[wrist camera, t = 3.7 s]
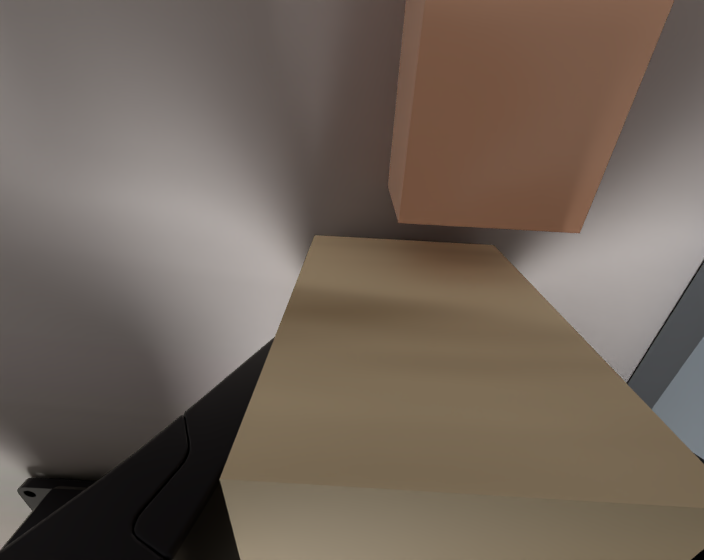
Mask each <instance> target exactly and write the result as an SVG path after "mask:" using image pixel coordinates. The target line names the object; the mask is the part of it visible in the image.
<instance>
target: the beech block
mask: <svg viewBox="0 0 704 560" xmlns="http://www.w3.org/2000/svg"><path fill="white" fill-rule="evenodd" d="M220 482H221V486H222V490H223V494H224V498H225V502H226V506H227V509H228V513H229V517H230V521H231V525H232V529H233V533H234V537H235V540H236V544H237V548H238V552H239V556H240V560H691V559H692V558H693V557H695V556H696V555H697V554H698V553H699V552H701V551H702V550H703V549H704V464H703V463H702V462H701V461H700V460H699V458H698V457H697V456H696V455H695V454H694V453H693V452H692V451H691V450H690V449H689V448H688V447H687V446H686V445H685V444H684V443H683V442H682V441H681V440H680V439H679V438H678V437H677V436H676V434H675V433H674V432H673V431H672V430H671V429H670V428H669V427H668V426H667V425H666V424H665V423H664V422H663V421H662V420H661V419H660V418H659V417H658V416H657V415H656V414H655V413H654V412H653V411H652V409H651V408H650V407H649V406H648V405H647V404H646V403H645V402H644V401H643V400H642V399H641V398H640V397H639V396H638V395H637V394H636V393H635V392H634V391H633V390H632V389H631V388H630V387H629V386H628V384H627V383H626V382H625V381H624V380H623V379H622V378H621V377H620V376H619V375H618V374H617V373H616V372H615V371H614V370H613V369H612V368H611V367H610V366H609V365H608V364H607V363H606V362H605V361H604V359H603V358H602V357H601V356H600V355H599V354H598V353H597V352H596V351H595V350H594V349H593V348H592V347H591V346H590V345H589V344H588V343H587V342H586V341H585V340H584V339H583V338H582V337H581V336H580V334H579V333H578V332H577V331H576V330H575V329H574V328H573V327H572V326H571V325H570V324H569V323H568V322H567V321H566V320H565V319H564V318H563V317H562V316H561V315H560V314H559V313H558V312H557V311H556V309H555V308H554V307H553V306H552V305H551V304H550V303H549V302H548V301H547V300H546V299H545V298H544V297H543V296H542V295H541V294H540V293H539V292H538V291H537V290H536V289H535V288H534V287H533V286H532V284H531V283H530V282H529V281H528V280H527V279H526V278H525V277H524V276H523V275H522V274H521V273H520V272H519V271H518V270H517V269H516V268H515V267H514V266H513V265H512V264H511V263H510V262H509V261H508V259H507V258H506V257H505V256H504V255H503V254H502V253H501V252H500V251H499V250H498V249H497V248H496V247H495V246H494V245H484V244H466V243H448V242H429V241H411V240H393V239H375V238H357V237H339V236H320V235H315V236H314V238H313V241H312V243H311V246H310V248H309V251H308V254H307V256H306V259H305V261H304V264H303V266H302V269H301V271H300V274H299V277H298V279H297V282H296V284H295V287H294V289H293V292H292V295H291V297H290V300H289V302H288V305H287V307H286V310H285V313H284V315H283V318H282V320H281V323H280V325H279V328H278V331H277V333H276V336H275V338H274V341H273V343H272V346H271V348H270V351H269V354H268V356H267V359H266V361H265V364H264V366H263V369H262V372H261V374H260V377H259V379H258V382H257V384H256V387H255V390H254V392H253V395H252V397H251V400H250V402H249V405H248V407H247V410H246V413H245V415H244V418H243V420H242V423H241V425H240V428H239V431H238V433H237V436H236V438H235V441H234V443H233V446H232V449H231V451H230V454H229V456H228V459H227V461H226V464H225V466H224V469H223V472H222V474H221V477H220Z"/></svg>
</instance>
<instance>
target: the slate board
mask: <svg viewBox="0 0 704 560" xmlns="http://www.w3.org/2000/svg"><path fill="white" fill-rule="evenodd" d="M628 386H629V387H630V388H631V389H632V390H633V391H634V392H635V393H636V394H637V395H638V396H639V397H640V398H641V399H642V400H643V401H644V402H645V403H646V404H647V405H648V406H649V407H650V408H651V409H652V411H653V412H654V413H655V414H656V415H657V416H658V417H659V418H660V419H661V420H662V421H663V422H664V423H665V424H666V425H667V426H668V427H669V428H670V429H671V430H672V431H673V432H674V433H675V434H676V436H677V437H678V438H679V439H680V440H681V441H682V442H683V443H684V444H685V445H686V446H687V447H688V448H689V449H690V450H691V451H692V452H693V453H695V454H696V455H698V456H699V457H701V458H702V459H704V263H703V265H702V266H701V268H700V269H699V271H698V273H697V274H696V276H695V277H694V279H693V281H692V282H691V284H690V285H689V287H688V289H687V290H686V292H685V293H684V295H683V297H682V298H681V300H680V301H679V303H678V304H677V306H676V308H675V309H674V311H673V312H672V314H671V316H670V317H669V319H668V320H667V322H666V324H665V325H664V327H663V328H662V330H661V332H660V333H659V335H658V336H657V338H656V339H655V341H654V343H653V344H652V346H651V347H650V349H649V351H648V352H647V354H646V355H645V357H644V359H643V360H642V362H641V363H640V365H639V367H638V368H637V370H636V371H635V373H634V375H633V376H632V378H631V379H630V381H629V382H628Z"/></svg>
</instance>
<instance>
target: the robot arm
mask: <svg viewBox="0 0 704 560" xmlns="http://www.w3.org/2000/svg"><path fill="white" fill-rule="evenodd" d="M274 338H275V337H274ZM274 338H273V339H272V340H270V341H269V342H268V343H267V344H266V345H265V346H263V347H262V348H261V349H260V350H259V351H257V352H256V353H255V354H254V355H253V356H251V357H250V358H249V359H248V360H247V361H245V362H244V363H243V364H242V365H241V366H240V367H238V368H237V369H236V370H235V371H234V372H232V373H231V374H230V375H229V376H228V377H226V378H225V379H224V380H223V381H222V382H220V383H219V384H218V385H217V386H216V387H214V388H213V389H212V390H211V391H210V392H209V393H207V394H206V395H205V396H204V397H203V398H201V399H200V400H199V401H198V402H197V403H195V404H194V405H193V406H192V407H191V408H189V409H188V410H187V411H186V412H185V413H184V416H185V417H184V416H183V415H181V416H180V417H179V418H177V419H176V420H175V421H174V422H173V423H171V424H170V425H169V426H168V427H167V428H165V429H164V430H163V431H162V432H161V433H159V434H158V435H157V436H156V437H154V438H153V439H152V440H151V441H149V442H148V443H147V444H146V445H144V446H143V447H142V448H141V449H139V450H138V451H137V452H136V453H134V454H133V455H132V456H130V457H129V458H128V459H126V460H125V461H123V462H122V463H121V464H119V465H118V466H117V467H115V468H114V469H113V470H111V471H110V472H109V473H107V474H106V475H105V476H103V477H102V478H101V479H99V480H98V481H97V482H94V481H77V480H61V479H44V478H28V479H27V480H26V481H25V482H24V483H23V484H22V485H21V486H20V487H19V488H18V490H17V491H18V493H19V495H20V496H21V497H22V498H23V500H24V501H25V502H26V503H27V505H28V506H29V507H30V508H31V510H32V512H31V514H30V515H29V516H28V517H27V518H26V520H25V521H24V522H23V523H22V524H21V526H20V527H19V528H18V529H17V530H16V532H15V533H14V534H13V535H12V537H11V538H10V539H9V540H8V541H7V543H6V544H5V545H4V546H3V547H2V549H1V550H0V560H240V556H239V552H238V548H237V544H236V540H235V537H234V533H233V529H232V525H231V521H230V517H229V513H228V509H227V506H226V502H225V498H224V494H223V490H222V486H221V482H220V477H221V474H222V472H223V469H224V466H225V464H226V461H227V459H228V456H229V454H230V451H231V449H232V446H233V443H234V441H235V438H236V436H237V433H238V431H239V428H240V425H241V423H242V420H243V418H244V415H245V413H246V410H247V407H248V405H249V402H250V400H251V397H252V395H253V392H254V390H255V387H256V384H257V382H258V379H259V377H260V374H261V372H262V369H263V366H264V364H265V361H266V359H267V356H268V354H269V351H270V348H271V346H272V343H273V341H274ZM694 454H695V453H694ZM695 455H696V454H695ZM696 456H697V457H698V458H699V460H700V461H701V462H702V463H703V464H704V459H702V458H701V457H699V456H698V455H696ZM691 560H704V549H703V550H702V551H701V552H699V553H698V554H697V555H696V556H695V557H693V558H692V559H691Z"/></svg>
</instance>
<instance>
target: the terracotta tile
mask: <svg viewBox="0 0 704 560" xmlns="http://www.w3.org/2000/svg"><path fill="white" fill-rule="evenodd" d="M673 2H674V0H406V3H405V14H404V24H403V34H402V45H401V55H400V65H399V75H398V86H397V96H396V106H395V117H394V127H393V137H392V147H391V158H390V168H389V178H388V189H389V193H390V196H391V199H392V203H393V206H394V210H395V213H396V217H397V220H398V223H406V224H424V225H442V226H460V227H478V228H496V229H514V230H531V231H549V232H567V233H580V231H581V229H582V226H583V224H584V221H585V219H586V216H587V214H588V211H589V209H590V207H591V204H592V202H593V199H594V197H595V194H596V192H597V189H598V187H599V184H600V182H601V179H602V177H603V175H604V172H605V170H606V167H607V165H608V162H609V160H610V157H611V155H612V152H613V150H614V147H615V145H616V143H617V140H618V138H619V135H620V133H621V130H622V128H623V125H624V123H625V120H626V118H627V115H628V113H629V111H630V108H631V106H632V103H633V101H634V98H635V96H636V93H637V91H638V88H639V86H640V83H641V81H642V79H643V76H644V74H645V71H646V69H647V66H648V64H649V61H650V59H651V56H652V54H653V52H654V49H655V47H656V44H657V42H658V39H659V37H660V34H661V32H662V29H663V27H664V24H665V22H666V20H667V17H668V15H669V12H670V10H671V7H672V5H673Z"/></svg>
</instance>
